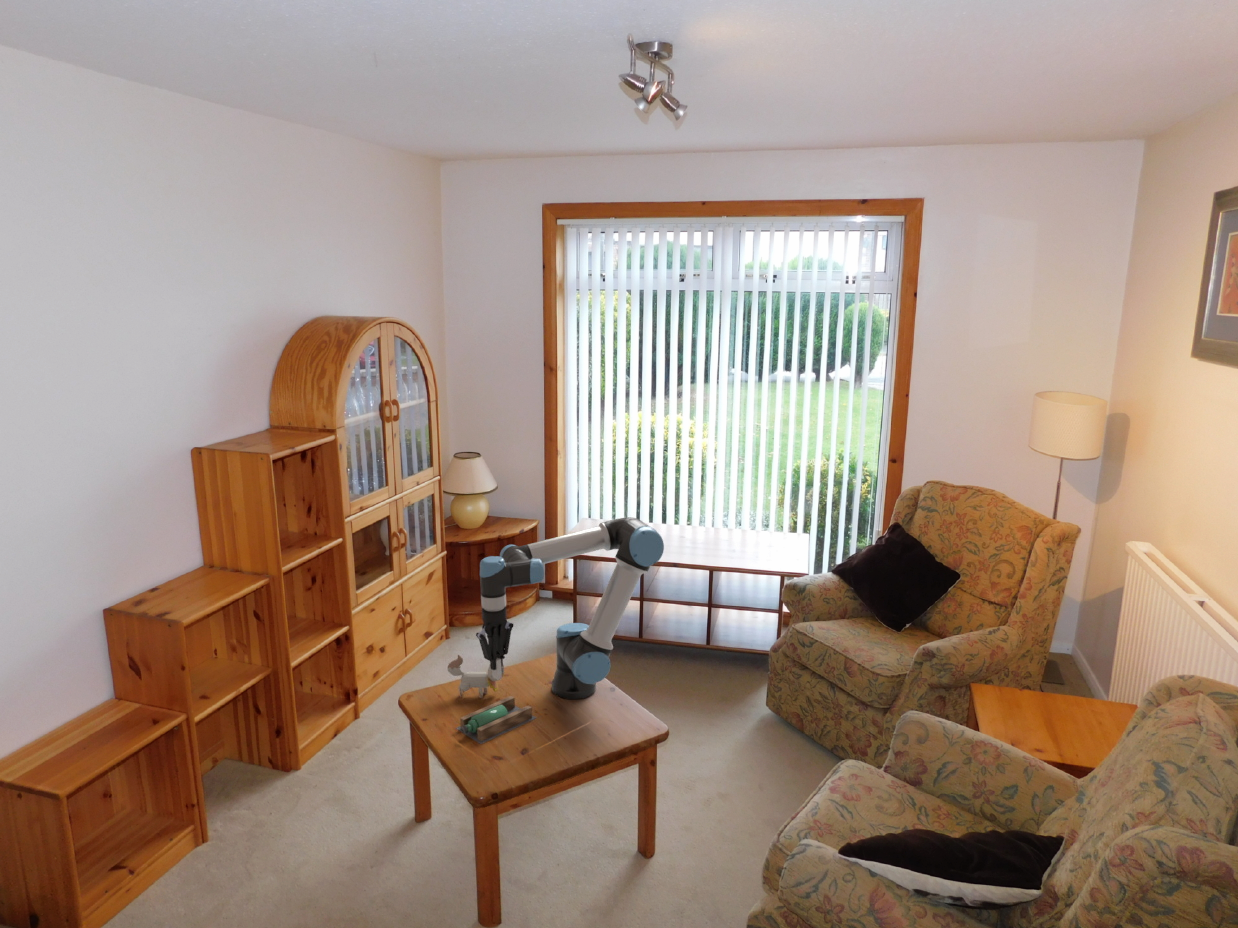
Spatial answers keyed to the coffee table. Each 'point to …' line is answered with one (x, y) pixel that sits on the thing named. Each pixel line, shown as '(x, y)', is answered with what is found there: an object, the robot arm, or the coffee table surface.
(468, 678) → the toy
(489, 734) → the rest
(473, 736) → the mat
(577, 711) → the coffee table surface
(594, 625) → the robot arm
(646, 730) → the coffee table surface
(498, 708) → the bottle
